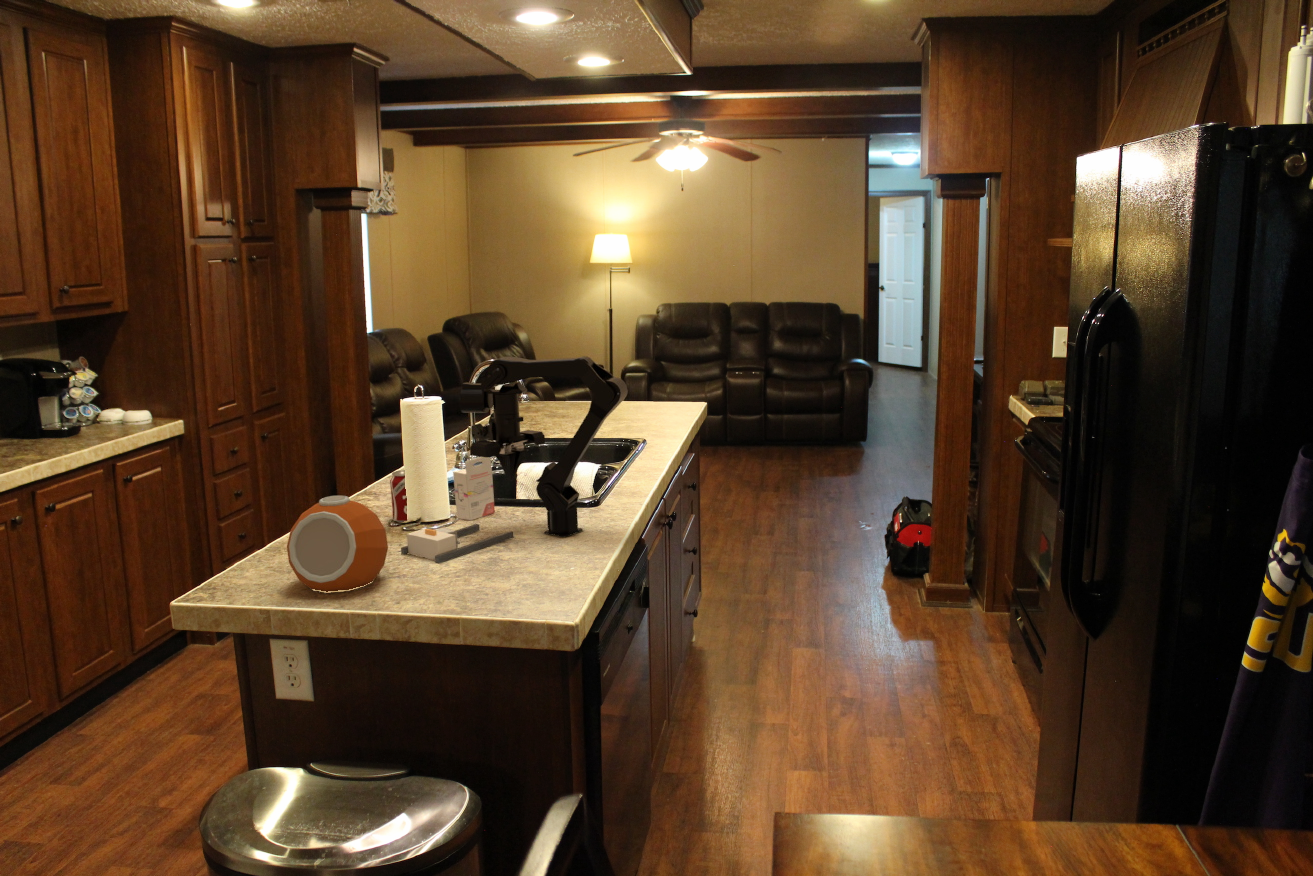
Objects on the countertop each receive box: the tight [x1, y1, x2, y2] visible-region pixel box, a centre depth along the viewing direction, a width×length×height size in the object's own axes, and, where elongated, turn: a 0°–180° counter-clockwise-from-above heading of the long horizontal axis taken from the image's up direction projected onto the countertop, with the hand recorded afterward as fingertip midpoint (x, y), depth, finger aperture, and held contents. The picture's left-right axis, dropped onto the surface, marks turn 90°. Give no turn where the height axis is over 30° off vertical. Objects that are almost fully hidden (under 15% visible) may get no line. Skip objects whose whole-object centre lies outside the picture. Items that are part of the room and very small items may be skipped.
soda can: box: [389, 469, 407, 523], centre depth 248 cm, size 7×7×12 cm
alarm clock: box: [286, 495, 389, 592], centre depth 203 cm, size 19×18×17 cm
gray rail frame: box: [400, 523, 514, 564], centre depth 227 cm, size 12×22×2 cm, turn 143°
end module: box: [406, 528, 457, 561], centre depth 221 cm, size 10×5×6 cm, turn 53°
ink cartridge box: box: [452, 456, 496, 521], centre depth 251 cm, size 9×5×15 cm, turn 143°
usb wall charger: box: [434, 527, 460, 549], centre depth 225 cm, size 4×7×4 cm, turn 40°
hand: (510, 480), depth 235 cm, fingers closed
